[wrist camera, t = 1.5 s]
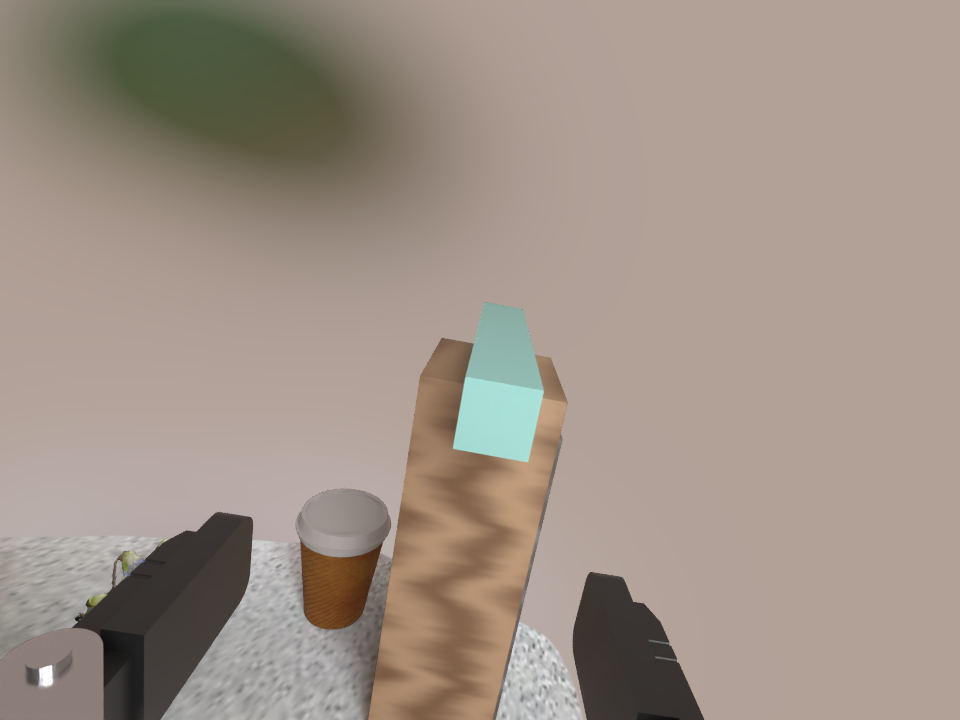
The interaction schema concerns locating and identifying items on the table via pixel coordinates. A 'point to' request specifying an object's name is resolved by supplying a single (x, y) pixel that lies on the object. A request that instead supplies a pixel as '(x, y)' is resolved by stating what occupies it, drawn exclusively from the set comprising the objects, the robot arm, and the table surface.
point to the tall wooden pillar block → (460, 554)
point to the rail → (500, 388)
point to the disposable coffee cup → (339, 553)
